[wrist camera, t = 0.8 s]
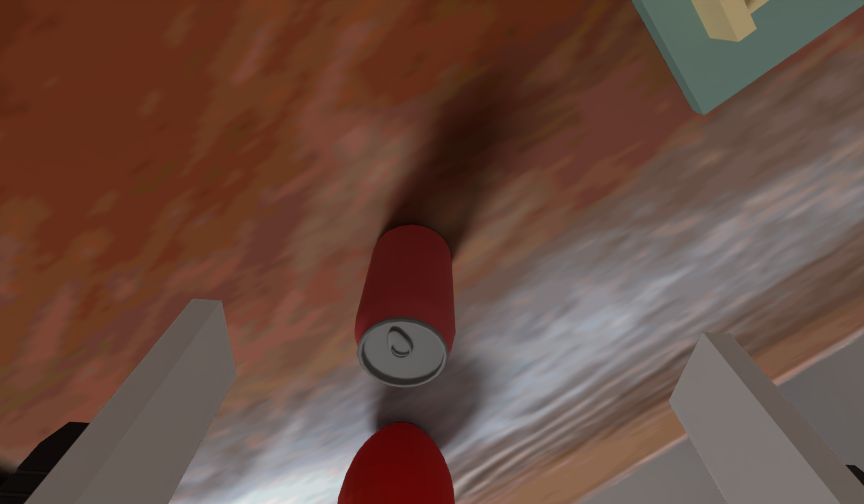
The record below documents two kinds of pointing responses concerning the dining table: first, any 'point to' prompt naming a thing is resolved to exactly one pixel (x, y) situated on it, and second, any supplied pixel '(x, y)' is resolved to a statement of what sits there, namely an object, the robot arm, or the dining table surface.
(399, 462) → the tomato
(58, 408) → the dining table surface
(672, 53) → the board
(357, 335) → the beer can
